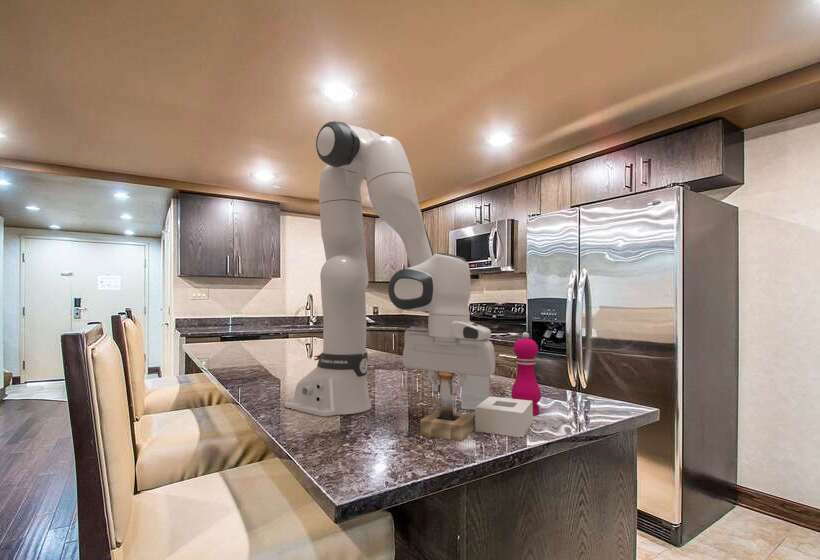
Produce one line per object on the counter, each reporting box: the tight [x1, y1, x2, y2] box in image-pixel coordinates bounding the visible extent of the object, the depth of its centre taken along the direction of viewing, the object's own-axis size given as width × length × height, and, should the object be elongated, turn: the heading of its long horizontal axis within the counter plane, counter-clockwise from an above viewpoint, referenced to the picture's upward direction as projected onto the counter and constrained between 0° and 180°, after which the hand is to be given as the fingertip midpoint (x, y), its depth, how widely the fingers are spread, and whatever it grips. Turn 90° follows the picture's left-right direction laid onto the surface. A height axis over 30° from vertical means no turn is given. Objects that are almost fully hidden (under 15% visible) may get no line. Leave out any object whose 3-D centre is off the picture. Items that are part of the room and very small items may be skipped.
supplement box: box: [460, 375, 491, 411], centre depth 112 cm, size 7×7×13 cm
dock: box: [474, 395, 534, 439], centre depth 94 cm, size 10×12×5 cm
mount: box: [419, 409, 475, 442], centre depth 90 cm, size 9×9×3 cm
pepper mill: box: [510, 331, 542, 416], centre depth 107 cm, size 7×7×20 cm
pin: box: [437, 371, 456, 420], centre depth 91 cm, size 4×4×10 cm
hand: (446, 393), depth 91 cm, fingers closed on pin, 3 cm apart
